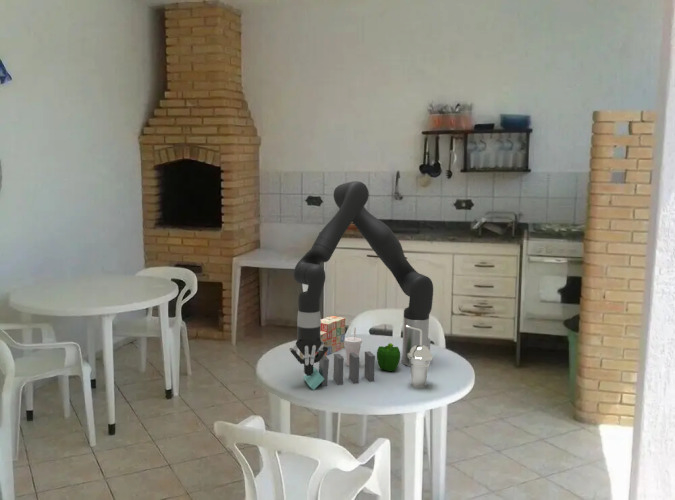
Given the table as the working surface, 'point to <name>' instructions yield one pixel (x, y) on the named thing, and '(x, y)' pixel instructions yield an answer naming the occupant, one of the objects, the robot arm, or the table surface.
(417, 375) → the cup with straw
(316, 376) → the domino
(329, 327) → the stack of blocks
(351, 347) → the smoothie
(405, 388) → the table surface
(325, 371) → the domino
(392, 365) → the bell pepper
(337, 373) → the domino
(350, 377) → the domino
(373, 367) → the domino
